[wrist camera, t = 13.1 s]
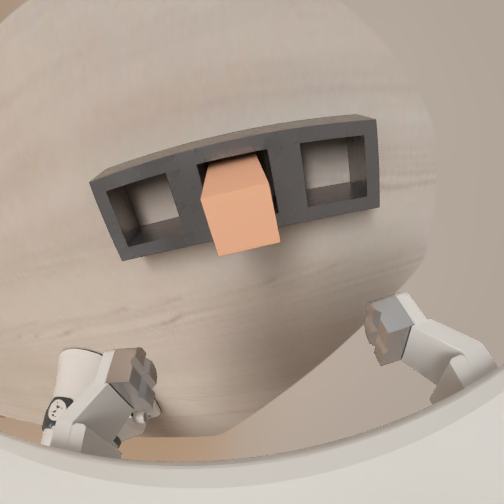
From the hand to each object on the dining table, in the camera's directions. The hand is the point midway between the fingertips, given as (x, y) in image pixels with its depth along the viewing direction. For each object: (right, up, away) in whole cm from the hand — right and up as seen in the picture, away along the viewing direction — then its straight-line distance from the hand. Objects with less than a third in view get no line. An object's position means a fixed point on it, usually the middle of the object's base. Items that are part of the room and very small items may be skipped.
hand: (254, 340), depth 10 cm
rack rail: (-1, +10, +16) cm, 19 cm away
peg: (-2, +10, +16) cm, 19 cm away
